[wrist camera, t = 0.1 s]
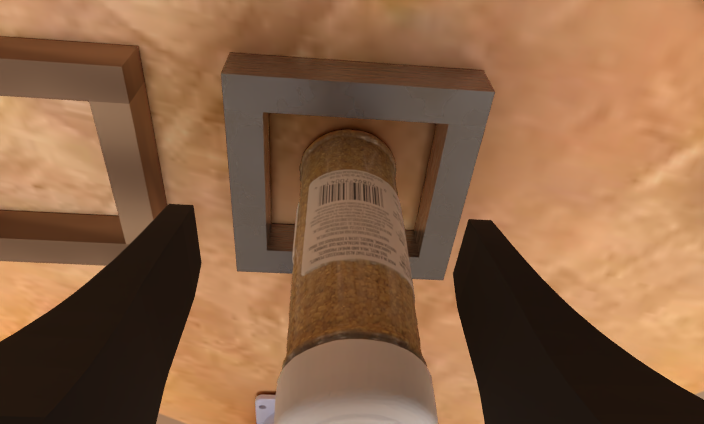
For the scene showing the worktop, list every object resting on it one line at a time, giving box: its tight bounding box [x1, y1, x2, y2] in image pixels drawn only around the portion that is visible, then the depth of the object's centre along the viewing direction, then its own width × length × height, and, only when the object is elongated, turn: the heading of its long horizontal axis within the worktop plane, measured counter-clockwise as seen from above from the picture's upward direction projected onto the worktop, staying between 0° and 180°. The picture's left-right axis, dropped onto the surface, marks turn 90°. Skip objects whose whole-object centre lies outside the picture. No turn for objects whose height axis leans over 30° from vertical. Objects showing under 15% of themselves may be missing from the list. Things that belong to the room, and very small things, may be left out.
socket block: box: [221, 53, 495, 280], centre depth 24 cm, size 10×10×2 cm
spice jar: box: [274, 129, 438, 424], centre depth 19 cm, size 5×5×14 cm
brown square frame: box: [0, 36, 167, 266], centre depth 23 cm, size 10×10×2 cm
